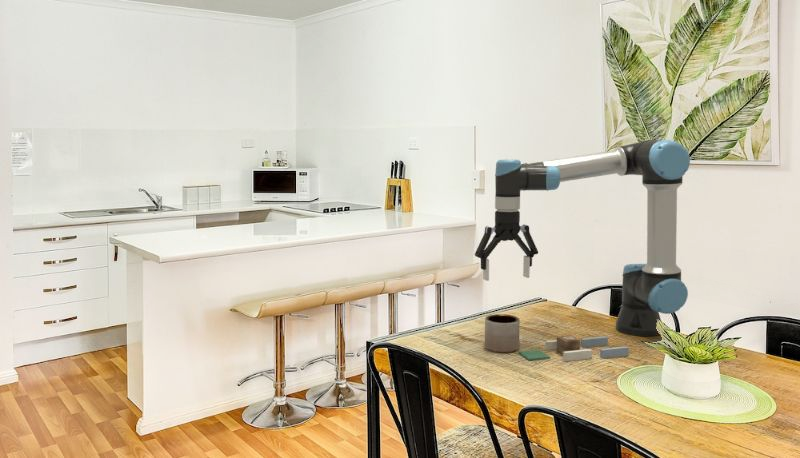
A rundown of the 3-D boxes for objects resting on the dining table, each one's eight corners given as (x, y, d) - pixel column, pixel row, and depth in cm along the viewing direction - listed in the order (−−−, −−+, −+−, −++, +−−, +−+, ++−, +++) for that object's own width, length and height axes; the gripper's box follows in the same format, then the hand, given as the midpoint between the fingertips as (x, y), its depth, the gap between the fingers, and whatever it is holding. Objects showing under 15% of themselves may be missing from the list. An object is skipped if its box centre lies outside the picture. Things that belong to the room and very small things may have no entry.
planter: (518, 354, 200) (519, 324, 199) (483, 352, 202) (483, 322, 201) (519, 343, 211) (520, 314, 209) (485, 341, 213) (486, 313, 211)
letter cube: (570, 350, 204) (571, 334, 203) (579, 355, 199) (580, 339, 198) (556, 352, 202) (556, 336, 202) (564, 357, 198) (565, 341, 197)
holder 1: (570, 346, 208) (571, 338, 207) (591, 358, 196) (592, 350, 196) (545, 349, 205) (545, 341, 205) (564, 361, 194) (565, 352, 193)
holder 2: (605, 344, 210) (606, 336, 210) (628, 355, 199) (628, 347, 198) (580, 346, 207) (581, 338, 207) (602, 358, 196) (602, 350, 196)
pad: (538, 351, 203) (538, 349, 203) (550, 358, 196) (550, 356, 196) (518, 353, 201) (518, 351, 201) (528, 360, 194) (528, 358, 194)
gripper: (538, 207, 207) (537, 273, 210) (464, 210, 200) (464, 278, 203) (550, 210, 200) (548, 278, 203) (474, 213, 193) (473, 283, 196)
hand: (506, 278), depth 203 cm, fingers open, 13 cm apart
